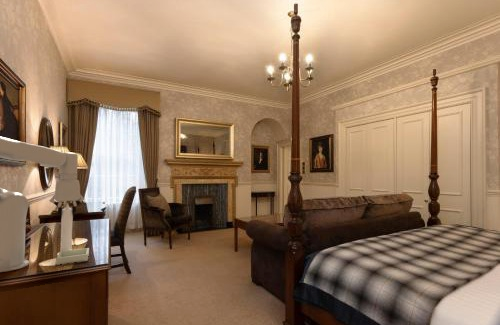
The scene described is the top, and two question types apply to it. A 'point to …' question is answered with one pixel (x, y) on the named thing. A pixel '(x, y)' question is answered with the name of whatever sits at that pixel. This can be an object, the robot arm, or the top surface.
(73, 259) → the tray
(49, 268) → the top surface
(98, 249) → the top surface
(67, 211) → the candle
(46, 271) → the top surface
